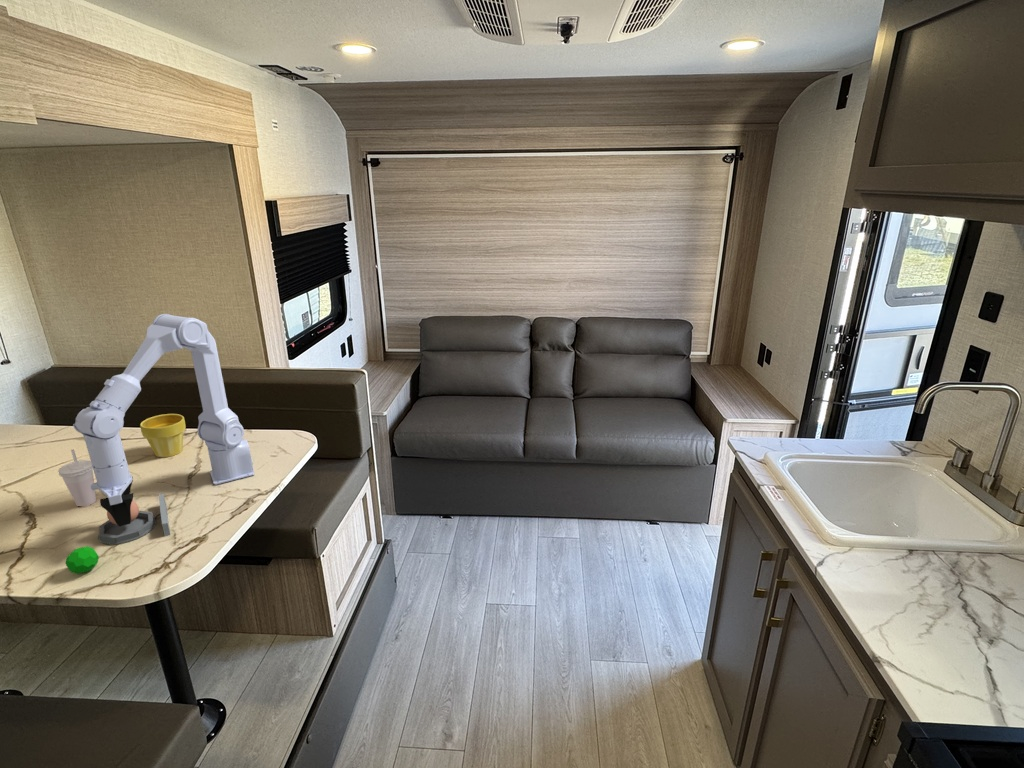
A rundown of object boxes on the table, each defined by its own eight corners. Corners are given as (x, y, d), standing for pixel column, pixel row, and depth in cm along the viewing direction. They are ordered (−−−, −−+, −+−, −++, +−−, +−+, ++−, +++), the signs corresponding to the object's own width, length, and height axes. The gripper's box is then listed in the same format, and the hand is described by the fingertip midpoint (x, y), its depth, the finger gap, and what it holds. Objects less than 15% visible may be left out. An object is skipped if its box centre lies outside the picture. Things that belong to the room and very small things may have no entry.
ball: (141, 512, 119) (135, 491, 117) (141, 524, 115) (136, 502, 113) (110, 520, 116) (104, 498, 114) (110, 533, 112) (103, 510, 110)
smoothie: (84, 511, 122) (68, 457, 117) (62, 508, 123) (44, 454, 118) (109, 497, 128) (95, 445, 123) (87, 493, 129) (72, 442, 124)
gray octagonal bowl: (154, 510, 123) (153, 505, 122) (157, 533, 115) (155, 527, 114) (99, 525, 117) (97, 519, 117) (97, 550, 109) (95, 544, 109)
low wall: (166, 504, 125) (163, 493, 124) (170, 534, 115) (167, 522, 114) (161, 505, 125) (158, 494, 124) (164, 536, 114) (162, 524, 113)
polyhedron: (93, 577, 102) (86, 556, 100) (63, 580, 101) (57, 559, 99) (106, 560, 107) (100, 540, 105) (78, 563, 106) (71, 543, 104)
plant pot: (184, 440, 157) (177, 410, 153) (195, 452, 150) (188, 420, 147) (143, 451, 150) (135, 420, 146) (153, 464, 143) (145, 431, 140)
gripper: (86, 453, 114) (102, 507, 118) (83, 482, 103) (100, 540, 107) (126, 444, 117) (140, 497, 122) (127, 472, 106) (142, 529, 111)
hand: (124, 517), depth 115 cm, fingers closed on ball, 5 cm apart
